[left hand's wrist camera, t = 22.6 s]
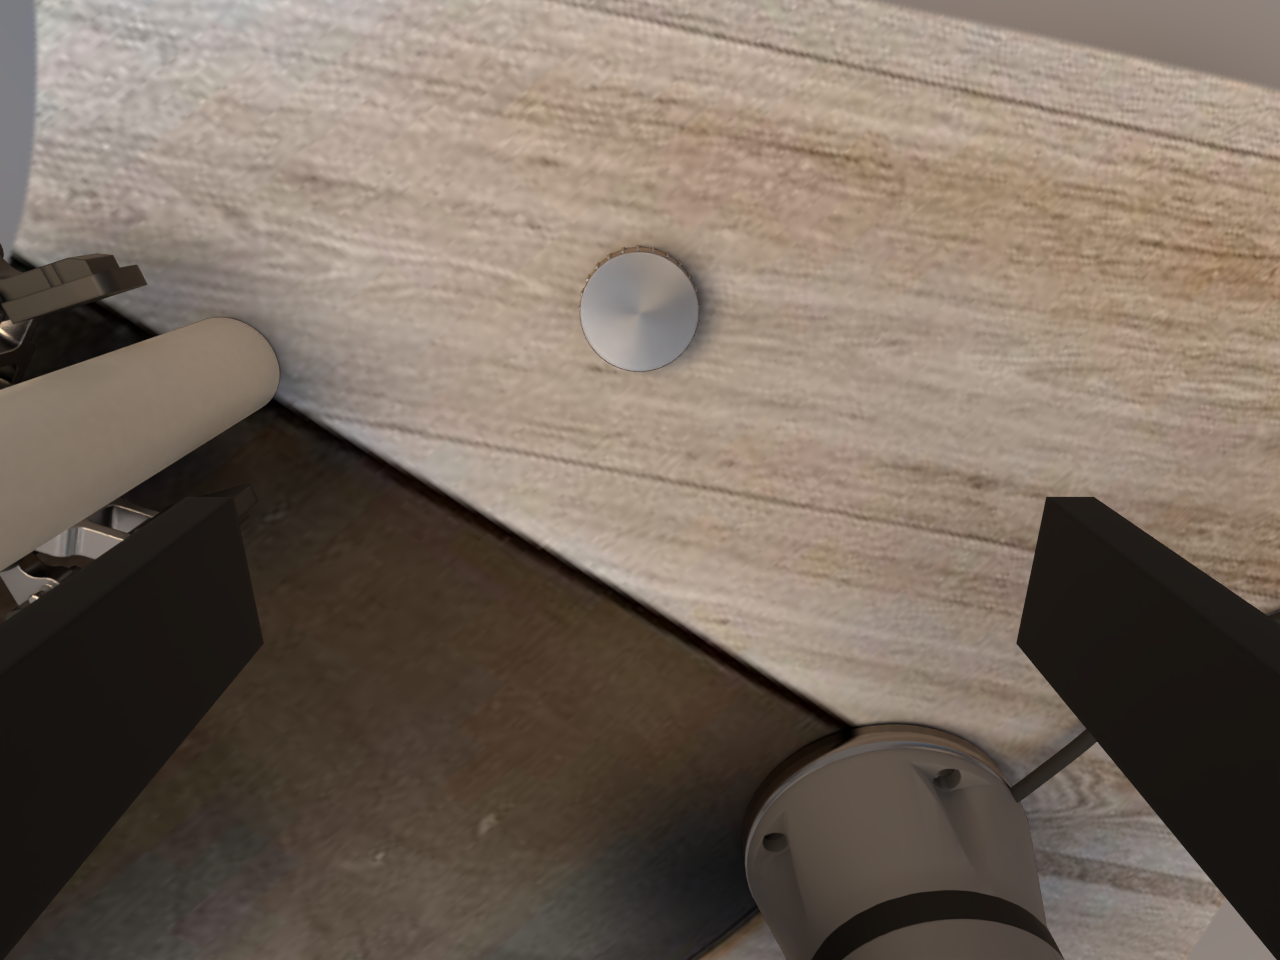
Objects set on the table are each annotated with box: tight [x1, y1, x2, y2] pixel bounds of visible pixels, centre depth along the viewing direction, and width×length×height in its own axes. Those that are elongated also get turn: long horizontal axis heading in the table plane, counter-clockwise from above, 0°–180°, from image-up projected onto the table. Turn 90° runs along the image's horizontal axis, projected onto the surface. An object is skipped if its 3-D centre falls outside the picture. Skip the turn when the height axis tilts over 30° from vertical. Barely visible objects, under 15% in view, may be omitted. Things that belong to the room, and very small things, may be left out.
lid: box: [579, 245, 700, 372], centre depth 31 cm, size 5×5×2 cm
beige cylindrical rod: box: [0, 317, 280, 571], centre depth 24 cm, size 4×4×19 cm
